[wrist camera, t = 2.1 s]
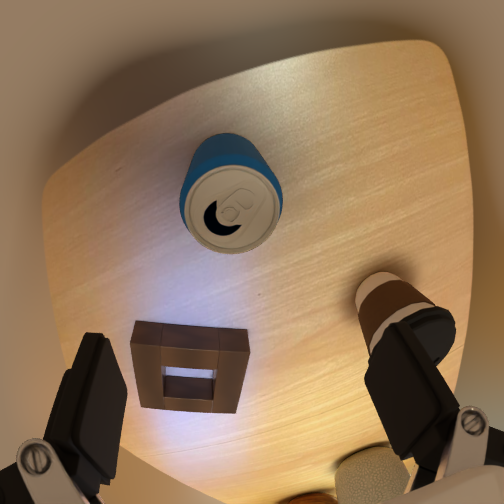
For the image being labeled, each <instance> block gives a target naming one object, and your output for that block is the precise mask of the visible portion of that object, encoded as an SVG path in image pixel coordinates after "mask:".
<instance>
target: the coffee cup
mask: <svg viewBox="0 0 504 504" xmlns="http://www.w3.org/2000/svg"><path fill="white" fill-rule="evenodd" d="M355 303H356V308H357V311H358V317H359V322H360V325H361V329H362V332H363V335H364V339H365V342H366V346H367V349H368V352H369V356H370V358H369V360H368V364H369V365H370V363H371V360H372V358H373V356H374V354H375V351H376V349H377V346H378V344H379V342H380V339H381V337H382V334H383V332H384V330H385V328H386V327H388V325H389V324H390V323H394V322H401V321H405V322H407V323H408V324H409V326H410V327H411V329H412V330H413V332H414V333H415V335H416V336H417V338H418V339H419V341H420V342H421V344H422V345H423V347H424V348H425V350H426V351H427V353H428V355H429V356H430V358H431V359H432V361H433V362H434V364H435V365H436V366H437V365H438V364H439V363H440V362H441V361H442V360H443V359H444V357H445V356H446V355H447V354H448V352H449V350H450V349H451V347H452V345H453V343H454V340H455V334H456V328H455V321H454V319H453V317H452V315H451V313H450V312H449V310H447V309H444V308H441V307H439V306H435V304H434V303H433V302H431V301H430V300H429V299H428V298H426V297H425V296H424V295H423V294H422V293H420V292H419V291H418V290H417V289H415V288H414V287H413V286H411V285H410V284H409V283H407V282H405V281H403V280H402V279H400V278H399V277H398V276H396V275H394V274H392V273H389V272H377V273H375V274H373V275H370V276H369V277H368V278H366V279H365V280H364V281H363V282H362V283H361V285H360V286H359V288H358V289H357V293H356V298H355Z"/></svg>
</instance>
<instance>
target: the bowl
mask: <svg viewBox="0 0 504 504" xmlns="http://www.w3.org/2000/svg"><path fill="white" fill-rule="evenodd" d="M288 504H338V500H337V498H336V497H334V496H332V495H329V494H324V493H310V494H305V495H302V496H299V497H296V498H294V499H293V500H292V501H291V502H289V503H288Z"/></svg>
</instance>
